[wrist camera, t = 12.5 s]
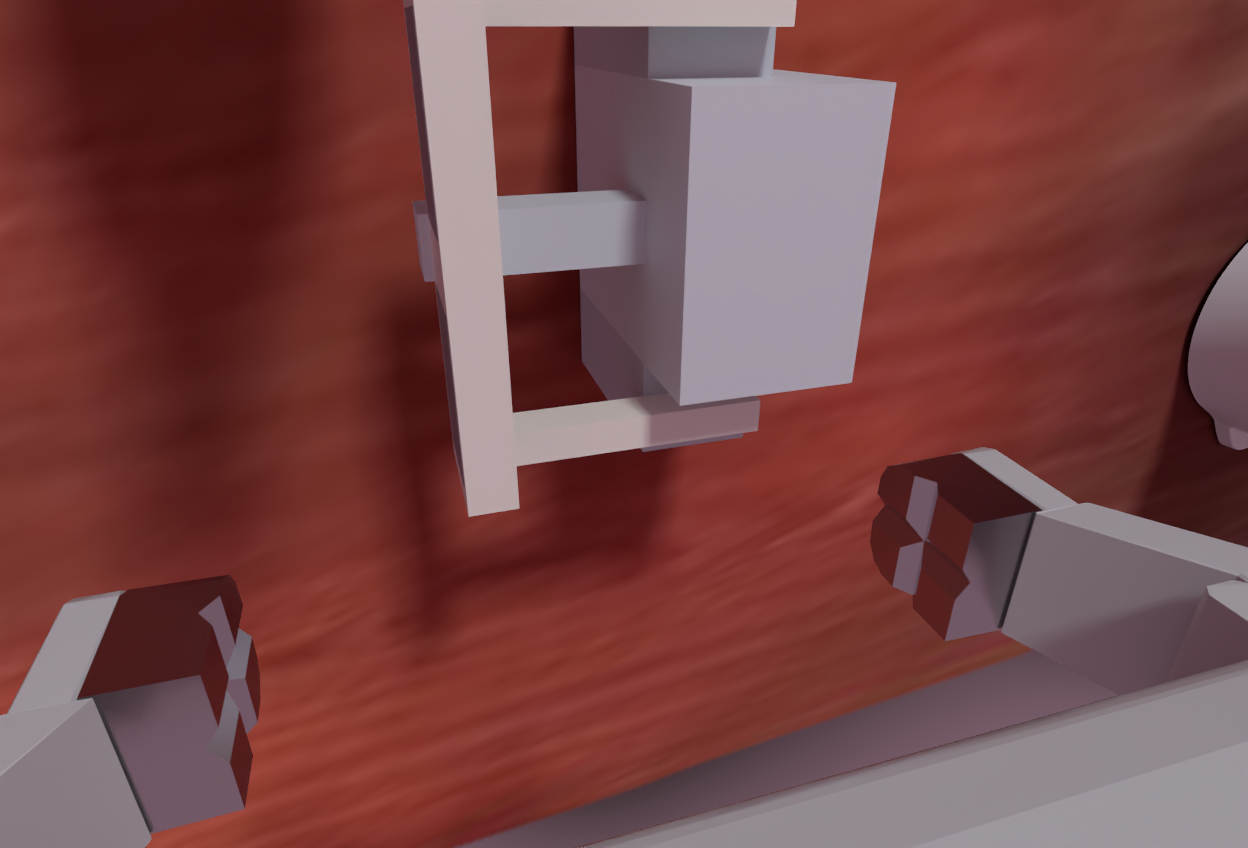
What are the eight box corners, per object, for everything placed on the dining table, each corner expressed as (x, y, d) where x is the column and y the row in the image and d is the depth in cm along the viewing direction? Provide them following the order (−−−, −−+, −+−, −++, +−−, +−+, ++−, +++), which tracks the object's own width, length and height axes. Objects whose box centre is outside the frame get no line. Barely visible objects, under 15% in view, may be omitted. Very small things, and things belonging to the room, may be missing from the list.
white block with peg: (721, -36, 30) (918, -68, 20) (702, 347, 38) (838, 474, 27) (375, -44, 27) (388, -89, 16) (427, 378, 34) (459, 538, 24)
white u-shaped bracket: (773, -21, 23) (847, -28, 19) (740, 412, 29) (791, 464, 26) (399, -27, 20) (408, -38, 16) (453, 452, 26) (468, 516, 23)
